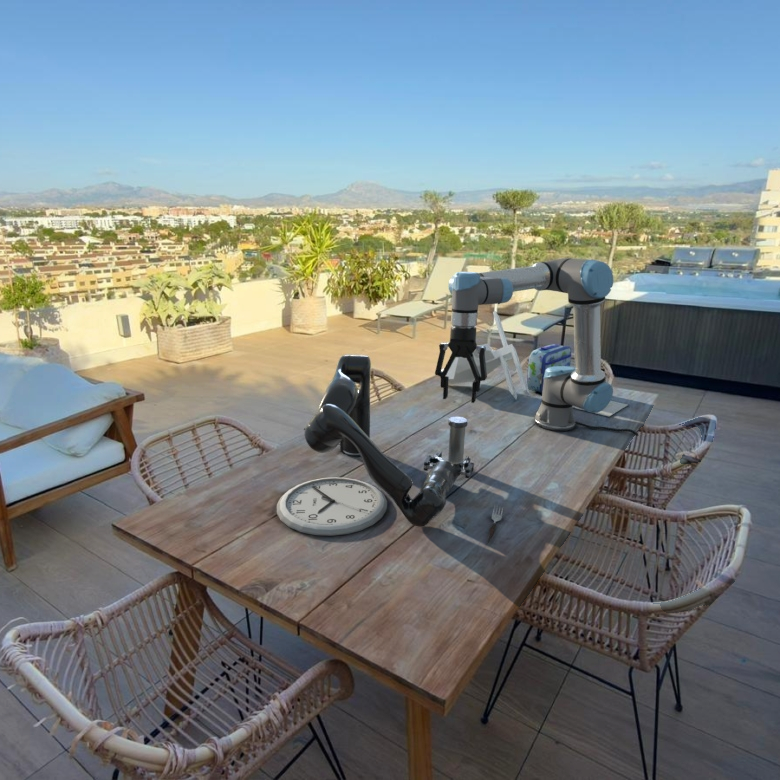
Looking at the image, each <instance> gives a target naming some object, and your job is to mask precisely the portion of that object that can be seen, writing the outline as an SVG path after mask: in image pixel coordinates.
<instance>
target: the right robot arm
mask: <svg viewBox="0 0 780 780" xmlns="http://www.w3.org/2000/svg"><path fill="white" fill-rule="evenodd" d="M613 286H614V274H613V271H612V269H611V267H610V265H608V264H607V263H606V262H604V261H602V260H596V259H586V258H571V257H564V258H557V259H550V260H546V261H539V262H536V263H534V264H533V265H531V266H524V267H523V266H522V267H515V268H508V269H507V268H506V269H502V270H500V269H499V270H492V271H483V272H476V271H457V272H455V273H454V275H452V277H450V279H449V281H448V291H449V293H450V295H451V317H450V325H452V326H450V336H449V341H448V342H441V343H439V345H438V347H439V354H438V358H437V361H436V362H437V363H436V366H435V372H434V375H435V376H438V377H440V385H439V386H440V388H441V389H442V392H443V393H442V399H443V400H446V399H447V398H448V397H449V396H448V395H449V385H448V380H449V377H447V376H446V375H447V373H448V371H449V369H450V367H451V365H452V363H453V361H454V359H455V358H456V357H463V358H467V361H468V362H469V365H470V367H471V370H472V373H473V375H474V378H475V380H474V381H473V382H472V385H471V401H470V402H471V403H472V404H475V402H476V400H477V393H479V392H480V390H481V382H482V381H483V382H484V381H486V379H488V374H487V371H486V362H485V351H486V347H485V346H483V347H481V346H478V344H477V342H476V341H477V327H476V326H477V325H478V312H479V306H481V305H495V304H496V305H500V304H505V303H508V302H510V300H511V299H512V297H513V296H514V292H515V293H516V292H521V291H526V290H527V291H528V290H535V291H538V292H541V291H552V292H558V293H564V294H567V300H568V301H567V302H568V304H569V305H570V306H572V309H573V310H572V315H573V346H574V351H573V352H574V366H570V367H569V366H555V367H549V368H547V369H546V370H545V374H544V379H543V390H542V393H541V402H540V405H539V407H538V410H537V411H536V413H535V416H534V424H535V425H536V426H537V427H539V428H542V429H544V430H549V431H556V432H567V431H572V430H574V429H575V428H576V425H577V426H581V427H584V428H586V429H591V430H606V431H612V432H619V433H620V432H625V433H631V434H633V435H634V436H637V437H639V433H638V432H637V431H635V430H633V429H630V428H614V427H609V426H592V425H589V424H586V423H583V422H579V421H576V418H575V417H576V416H575V413H574V407H578V408H581V409H583V410H582V411H584V410H585V411H584V412H588V411H589V412H588V413H593V414H596V413H597V412H600V411H602V410H603V409H604V408H606V406H607V405H608V404H609V402H610V401H612V398H613V395H614V389H613V385H611V383H609V382H607V381H606V373H605V372H604V371H603V370H602V360H601V355H602V353H601V352H602V351H601V350H602V349H601V344H602V343H601V340H602V339H601V338H602V337H601V336H602V335H601V333H602V332H601V305H602V304H603V303H604V302H605V301H606V297H607V296H609V294H610V292H611V291H612V288H613ZM448 348H449V350H450V351H451V352H452V354H451V353H450V356H449V358H448V360H447V362H446V364H445V366H444V368H443V365H444V360H445V356H446V353H447V350H448ZM475 349H476V350H477V352H478V354H479V361H480V370H481V376H480V374H479V371H478V368H477V366H476V363H475V360H474V356H473V354H472V353H473V352H474V351H475ZM441 369H444V370H443V372H442V371H441Z"/></svg>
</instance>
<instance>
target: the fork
mask: <svg viewBox="0 0 780 780" xmlns="http://www.w3.org/2000/svg"><path fill="white" fill-rule="evenodd" d="M498 506H499V505H497V506H496V505H494V507H493V510H492V514H491V520H492V521H493V523H492V524H491V526H490V528H489V532H488V539H487V543H490V541H491V539H492V537H493V535H494V533H495V529H496V523H497V522H499V521H502V518H503V510H504V507H502V508H501V507H499V509H498ZM500 511H501V512H500Z"/></svg>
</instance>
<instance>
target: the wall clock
mask: <svg viewBox="0 0 780 780" xmlns="http://www.w3.org/2000/svg"><path fill="white" fill-rule="evenodd" d="M387 509H388V500H387V498H386V496H385V494H384V493H383V491H381V489H380V488H378V487H376V486H374V485H372V484H371V483H369V482H365V481H362V480H359V479H355V478H349V477H338V476H337V477H335V476H333V477H332V476H331V477H322V478H317V479H312V480H307V481H305V482H302V483H299V484H297V485H295V486H293V487H292V488H290V489H288V490H287V491H286V492H285V493H284V494H283V495H281V496H280V498H279V499H278V502H277V503H276V515H277V517H278V518H279V520H280V521H281V522H282V523H283V524H285V525H286V526H287V527H288V528H290V529H293V530H295V531H297V532H299V533H303V534H308V535H312V536H327V537H328V536H329V537H331V536H332V537H333V536H342V535H350V534H352V533H356V532H361V531H363V530H366V529H368V528H369V527H372V526H373V525H375V524H376V523H378V522H379V521H380V520H381V519H382V518H383V517H384V516H385V514H386V512H387Z"/></svg>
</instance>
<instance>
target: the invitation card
mask: <svg viewBox="0 0 780 780" xmlns="http://www.w3.org/2000/svg"><path fill="white" fill-rule="evenodd" d="M628 406H629V404H627V403H623V402H618V401H614V400H610V402H609V404H608V405H607V406H606V408H604V409H603V410H602V411H600V412H597V413H595V414H596V415H600V416H604V417H608V418H609V417H611V416H613V415H614V414H616V413H617V412H619V411H621V410H623V409H624V408H626V407H628ZM573 409H575V410H581V411H584V412H586V411H585V410H583V409H581V408H578V407H575V406H573ZM587 413H590V412H589V411H587Z"/></svg>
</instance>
